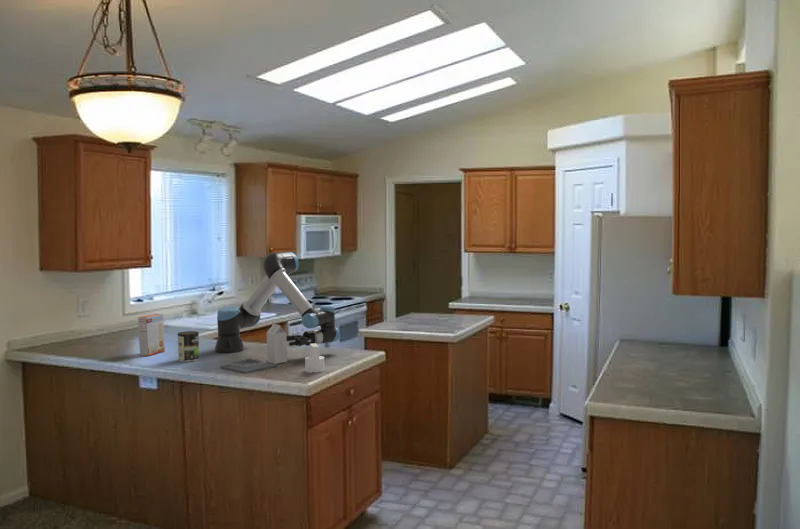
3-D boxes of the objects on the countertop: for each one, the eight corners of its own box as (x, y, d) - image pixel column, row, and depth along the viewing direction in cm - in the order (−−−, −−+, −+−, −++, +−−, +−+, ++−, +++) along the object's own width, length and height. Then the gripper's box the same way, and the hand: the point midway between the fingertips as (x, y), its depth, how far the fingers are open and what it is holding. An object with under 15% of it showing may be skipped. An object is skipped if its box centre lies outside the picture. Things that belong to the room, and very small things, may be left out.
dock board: (220, 367, 320) (220, 365, 320) (250, 361, 334) (250, 359, 334) (245, 373, 307) (245, 371, 307) (276, 366, 321) (276, 364, 321)
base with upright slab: (326, 371, 309) (325, 346, 308) (306, 373, 306) (306, 347, 306) (322, 367, 318) (322, 342, 317) (304, 369, 315) (303, 344, 314)
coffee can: (203, 358, 344) (202, 331, 343) (193, 362, 334) (192, 334, 333) (185, 357, 346) (184, 330, 345) (174, 361, 336) (173, 334, 335)
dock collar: (229, 365, 320) (229, 362, 320) (251, 361, 329) (250, 358, 329) (245, 369, 312) (245, 365, 312) (266, 364, 321) (266, 361, 321)
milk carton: (279, 360, 337) (278, 322, 335) (287, 362, 332) (286, 324, 330) (267, 362, 332) (266, 324, 330) (275, 364, 327) (274, 326, 325)
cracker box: (155, 351, 365) (154, 313, 364) (165, 351, 364) (163, 313, 362) (138, 356, 352) (137, 316, 351) (148, 356, 350) (147, 317, 349)
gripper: (325, 348, 335) (288, 353, 321) (299, 341, 354) (263, 346, 340) (325, 333, 334) (288, 338, 320) (299, 327, 353) (263, 332, 340)
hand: (275, 342), depth 330 cm, fingers open, 13 cm apart
